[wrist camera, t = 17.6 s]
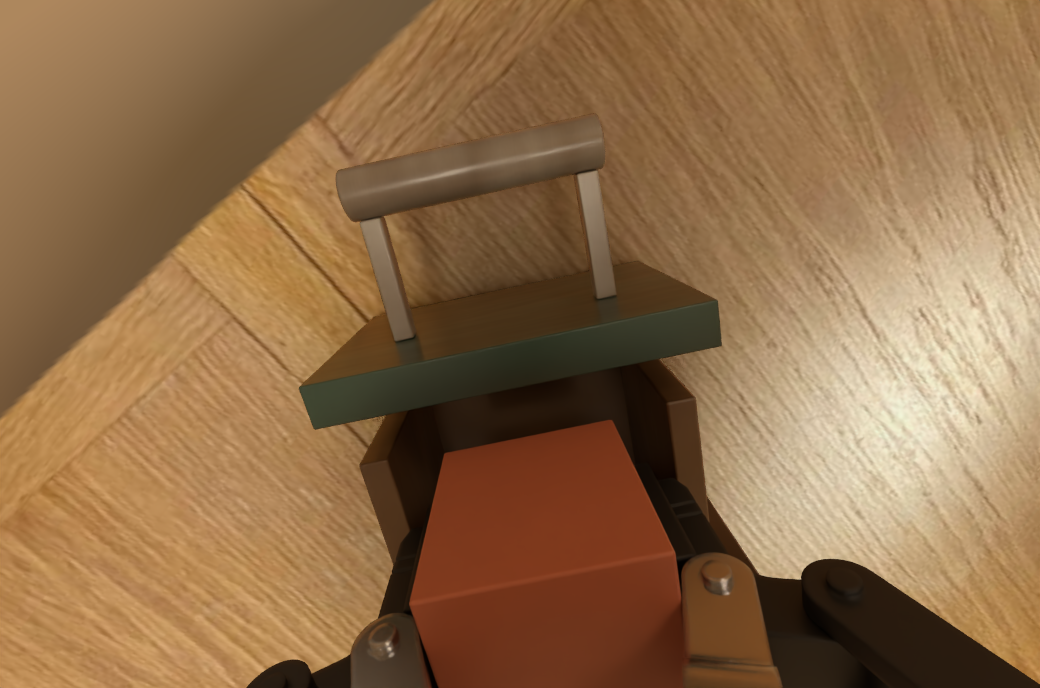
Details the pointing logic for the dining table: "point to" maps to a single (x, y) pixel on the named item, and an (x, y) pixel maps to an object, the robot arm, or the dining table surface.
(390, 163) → the drawer
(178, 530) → the dining table surface
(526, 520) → the block
